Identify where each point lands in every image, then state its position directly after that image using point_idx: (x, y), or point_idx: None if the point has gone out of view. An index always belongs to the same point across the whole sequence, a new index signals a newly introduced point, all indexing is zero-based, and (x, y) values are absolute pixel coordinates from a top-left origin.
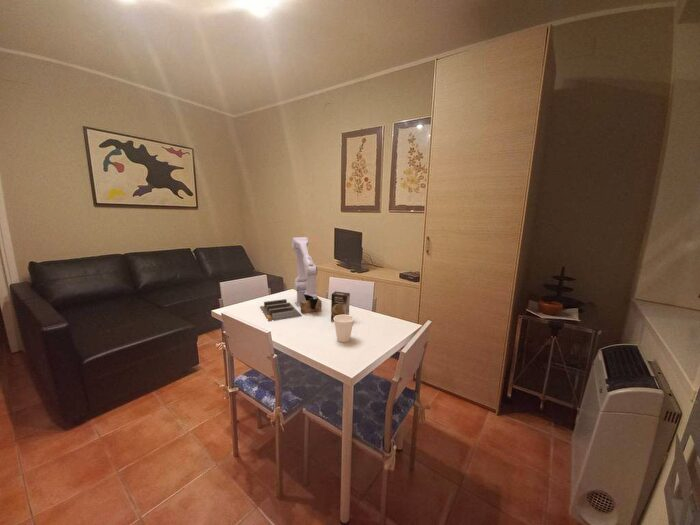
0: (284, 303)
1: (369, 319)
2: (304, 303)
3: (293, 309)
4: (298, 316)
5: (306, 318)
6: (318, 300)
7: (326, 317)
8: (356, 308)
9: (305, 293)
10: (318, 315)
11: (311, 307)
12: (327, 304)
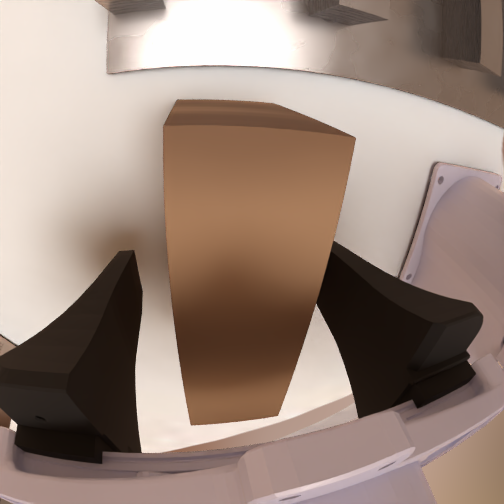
0: (493, 16)
1: None
2: (166, 184)
3: (375, 52)
4: (109, 31)
5: (22, 124)
6: (221, 409)
7: (30, 312)
8: (174, 448)
9: (302, 494)
10: (80, 269)
11: (108, 265)
12: (321, 374)
